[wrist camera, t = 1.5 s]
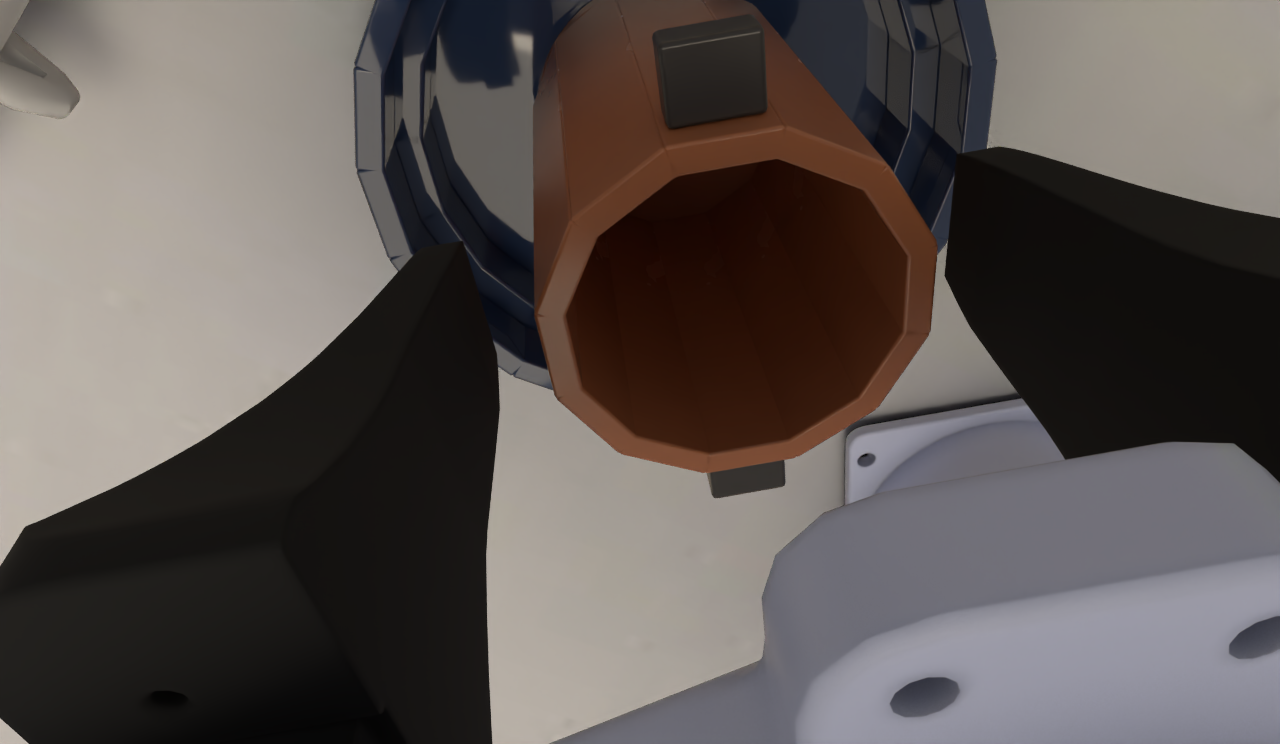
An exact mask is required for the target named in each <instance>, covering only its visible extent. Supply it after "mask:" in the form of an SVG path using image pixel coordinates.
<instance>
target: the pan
mask: <svg viewBox="0 0 1280 744" xmlns="http://www.w3.org/2000/svg"><path fill="white" fill-rule="evenodd" d="M591 1H592V0H375V1H374V4H373V8H372V11H371V14H370V17H369V20H368V23H367V26H366V29H365V32H364V35H363V38H362V41H361V44H360V47H359V50H358V53H357V56H356V59H355V62H354V64H355V67H354V69H353V75H354V121H355V166H356V169H357V175H358V178H359V180H360V183H361V186H362V188H363V191H364V194H365V197H366V199H367V202H368V205H369V207H370V210H371V213H372V216H373V218H374V221H375V224H376V226H377V229H378V232H379V235H380V237H381V240H382V243H383V246H384V248H385V251H386V254H387V256H388V258H390V261H391V263H392V264H393V265H394V267H395V268H396V269H397V270H398V272H399V270H400V269H401V268H402V267H403V266H404V265H405V264H406V263H407V262H408V260H409V259H410V258H411V257H412V256H413V255H414V254H415V253H416V252H417V251H418V250H420V249H421V248H424V247H429V246H435V245H441V244H446V243H452V242H458V241H463V243H464V246H465V249H466V253H467V256H468V259H469V263H470V266H471V269H472V272H473V276H474V279H475V282H476V286H477V289H478V292H479V296H480V299H481V302H482V306H483V309H484V312H485V316H486V319H487V322H488V325H489V329H490V332H491V335H492V339H493V342H494V345H495V349H496V352H497V359H498V367H500V368H501V369H502V370H504V371H505V372H507V373H508V374H510V375H513V376H514V377H516V378H519V379H521V380H524V381H527V382H530V383H533V384H536V385H539V386H542V387H545V388H548V389H551V390H553V387H552V383H551V380H550V376H549V372H548V368H547V364H546V360H545V356H544V353H543V349H542V345H541V341H540V337H539V333H538V329H537V326H536V322H535V318H534V229H533V105H534V102H535V99H536V96H537V93H538V86H539V81H540V77H541V73H542V69H543V66H544V63H545V61H546V59H547V56H548V54H549V51H550V49H551V48H552V46H553V44H554V42H555V40H556V39H557V37H558V35H559V34H560V33H561V31H562V30H563V29H564V27H565V26H566V25H567V23H568V22H569V21H570V20H571V19H572V18H573V17H574V16H575V15H576V14H577V13H578V12H579V11H580V10H581V9H582V8H583V7H584V6H586V5H587V4H588V3H590V2H591ZM745 1H747V2H749V3H752V4H753V5H754V6H756V7H757V8H758V10H759V11H760V12H761V13H762V14H763V16H764V17H765V18H766V19H767V20H768V22H769V23H770V24H771V25H772V26H773V28H774V29H775V30H776V31H777V32H778V33H779V35H780V36H781V37H782V38H783V39H784V41H785V42H786V43H787V44H788V45H789V47H790V48H791V49H792V50H793V51H794V53H795V54H796V55H797V56H798V57H799V59H800V60H801V61H802V62H803V63H804V65H805V66H806V67H807V68H808V69H809V71H810V72H811V73H812V74H813V75H814V76H815V78H816V79H817V80H818V81H819V82H820V84H821V85H822V86H823V87H824V88H825V90H826V91H827V92H828V93H829V94H830V96H831V97H832V98H833V99H834V100H835V102H836V103H837V104H838V105H839V106H840V108H841V109H842V110H843V111H844V112H845V114H846V115H847V116H848V117H849V118H850V119H851V121H852V122H853V123H854V124H855V125H856V127H857V128H858V129H859V130H860V131H861V133H862V134H863V135H864V136H865V137H866V139H867V140H868V141H869V142H870V143H871V145H872V146H873V147H874V148H875V149H876V151H877V152H878V153H879V154H880V155H881V157H882V158H883V159H884V160H885V161H886V162H887V164H888V165H889V166H890V168H891V169H892V171H893V172H894V174H895V176H896V177H897V179H898V180H899V182H900V183H901V185H902V187H903V188H904V190H905V191H906V193H907V194H908V196H909V198H910V199H911V201H912V202H913V204H914V206H915V207H916V209H917V210H918V212H919V213H920V215H921V217H922V218H923V220H924V221H925V223H926V224H927V226H928V228H929V229H930V231H931V232H932V234H933V235H934V237H935V239H936V240H937V245H938V250H937V255H938V253H939V252H940V251H941V250H942V248H943V247H944V246H945V245H946V243H947V239H948V236H949V226H950V215H951V205H952V194H953V184H954V174H955V163H956V154H959V153H965V152H971V151H976V150H982V149H987V142H988V133H989V125H990V116H991V108H992V99H993V91H994V82H995V74H996V65H997V59H996V50H995V45H994V41H993V36H992V31H991V26H990V22H989V17H988V12H987V8H986V3H985V0H745Z"/></svg>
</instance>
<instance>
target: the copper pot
mask: <svg viewBox="0 0 1280 744" xmlns="http://www.w3.org/2000/svg"><path fill="white" fill-rule="evenodd" d="M533 229H534V318H535V322H536V326H537V329H538V333H539V337H540V341H541V345H542V349H543V353H544V356H545V360H546V364H547V368H548V372H549V376H550V380H551V383H552V387H553V391H554V395H555V396H556V398H557V400H558V401H559V402H561V403H562V404H563V405H564V406H565V407H566V408H568V409H569V410H570V411H571V412H572V413H573V414H574V415H576V416H577V417H578V418H579V419H580V420H581V421H583V422H584V423H585V424H586V425H587V426H588V427H589V428H591V429H592V430H593V431H594V432H595V433H596V434H597V435H599V436H600V437H601V438H602V439H603V440H604V441H606V442H607V443H608V444H609V445H610V446H611V447H612V448H614V449H615V450H616V451H617V452H619V453H621V454H623V455H627V456H632V457H636V458H640V459H645V460H649V461H653V462H658V463H662V464H666V465H671V466H675V467H680V468H684V469H688V470H693V471H697V472H701V473H705V472H706V473H707V476H708V480H709V485H710V489H711V493H712V495H713V497H714V498H721V497H727V496H732V495H738V494H744V493H750V492H755V491H761V490H767V489H773V488H778V487H783V486H784V485H785V462H784V460H786V459H792V458H795V457H796V456H797V457H798V456H800V455H802V454H803V453H805V452H807V451H808V450H810V449H812V448H813V447H815V446H817V445H818V444H820V443H822V442H823V441H825V440H827V439H828V438H830V437H832V436H833V435H835V434H836V433H838V432H840V431H841V430H843V429H845V428H846V427H848V426H850V425H851V424H853V423H855V422H856V421H858V420H860V419H861V418H863V417H865V416H866V415H868V414H869V413H871V412H873V411H874V410H875V409H876V408H878V407H879V406H880V404H881V403H882V401H883V400H884V398H885V397H886V396H887V394H888V393H889V391H890V390H891V388H892V387H893V386H894V384H895V383H896V381H897V380H898V378H899V377H900V376H901V374H902V373H903V371H904V370H905V369H906V367H907V366H908V364H909V363H910V361H911V360H912V359H913V357H914V356H915V354H916V353H917V351H918V350H919V349H920V347H921V346H922V344H923V343H924V342H925V340H926V339H927V337H928V336H929V332H930V330H931V319H932V307H933V296H934V284H935V273H936V261H937V250H938V245H937V240H936V239H935V237H934V235H933V234H932V232H931V231H930V229H929V228H928V226H927V224H926V223H925V221H924V220H923V218H922V217H921V215H920V213H919V212H918V210H917V209H916V207H915V206H914V204H913V202H912V201H911V199H910V198H909V196H908V194H907V193H906V191H905V190H904V188H903V187H902V185H901V183H900V182H899V180H898V179H897V177H896V176H895V174H894V172H893V171H892V169H891V168H890V166H889V165H888V164H887V162H886V161H885V160H884V159H883V158H882V157H881V155H880V154H879V153H878V152H877V151H876V149H875V148H874V147H873V146H872V145H871V143H870V142H869V141H868V140H867V139H866V137H865V136H864V135H863V134H862V133H861V131H860V130H859V129H858V128H857V127H856V125H855V124H854V123H853V122H852V121H851V119H850V118H849V117H848V116H847V115H846V114H845V112H844V111H843V110H842V109H841V108H840V106H839V105H838V104H837V103H836V102H835V100H834V99H833V98H832V97H831V96H830V94H829V93H828V92H827V91H826V90H825V88H824V87H823V86H822V85H821V84H820V82H819V81H818V80H817V79H816V78H815V76H814V75H813V74H812V73H811V72H810V71H809V69H808V68H807V67H806V66H805V65H804V63H803V62H802V61H801V60H800V59H799V57H798V56H797V55H796V54H795V53H794V51H793V50H792V49H791V48H790V47H789V45H788V44H787V43H786V42H785V41H784V39H783V38H782V37H781V36H780V35H779V33H778V32H777V31H776V30H775V29H774V28H773V26H772V25H771V24H770V23H769V22H768V20H767V19H766V18H765V17H764V16H763V14H762V13H761V12H760V11H759V10H758V8H757V7H756V6H754V5H753V4H752V3H749V2H747V1H745V0H592V1H591V2H590V3H588V4H587V5H586V6H584V7H583V8H582V9H581V10H580V11H579V12H578V13H577V14H576V15H575V16H574V17H573V18H572V19H571V20H570V21H569V22H568V23H567V25H566V26H565V27H564V29H563V30H562V31H561V33H560V34H559V35H558V37H557V39H556V40H555V42H554V44H553V46H552V48H551V49H550V51H549V54H548V56H547V59H546V61H545V63H544V66H543V69H542V73H541V77H540V81H539V86H538V93H537V96H536V99H535V102H534V105H533Z"/></svg>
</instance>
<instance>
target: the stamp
mask: <svg viewBox="0 0 1280 744" xmlns="http://www.w3.org/2000/svg"><path fill="white" fill-rule="evenodd" d="M29 1H30V0H0V103H1V104H3V105H5V106H7V107H9V108H11V109H13V110H18V111H22V112H27V113H32V114H37V115H42V116H47V117H51V118H56V119H62V118H66V117H67V116H68V115H69V114H70V113H71V111H72V110H73V109H74V107H75V106H76V105H77V104H78V102H79V100H80V95H79V92H78V90H77V89H76V87H75V86H74V85H73V83H72V82H71V81H70V80H69V78H68V77H67V76H66V74H65V73H63V72H62V71H61V70H60V69H59V68H58V67H57V66H55V65H54V64H53V63H52V62H51V61H49V60H48V59H47V58H46V57H44V56H43V55H42V54H41V53H40V52H38V51H37V50H36V49H35V48H33V47H32V46H31V45H30V44H28V43H27V42H26V41H25V40H24V39H22V38H21V37H20V36H19V35H17V34H16V33H15V32H14V31H13V29H14V27H15V26H16V24H17V22H18V20H19V19H20V17H21V15H22V13H23V12H24V10H25V8H26V6H27V5H28V3H29Z"/></svg>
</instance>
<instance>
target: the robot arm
mask: <svg viewBox="0 0 1280 744" xmlns="http://www.w3.org/2000/svg"><path fill="white" fill-rule="evenodd" d="M945 278H946V280H947V282H948V284H949V286H950V288H951V290H952V292H953V294H954V297H955V299H956V301H957V303H958V305H959V307H960V309H961V311H962V312H963V314H964V316H965V318H966V320H967V322H968V324H969V326H970V327H971V329H972V330H973V332H974V333H975V334H976V336H977V337H978V339H979V340H980V342H981V343H982V344H983V346H984V347H985V348H986V350H987V351H988V353H989V354H990V355H991V357H992V358H993V360H994V361H995V362H996V364H997V365H998V366H999V368H1000V369H1001V370H1002V372H1003V373H1004V375H1005V376H1006V377H1007V379H1008V380H1009V381H1010V383H1011V384H1012V385H1013V387H1014V388H1015V389H1016V391H1017V392H1018V393H1019V395H1020V396H1021V397H1022V398H1021V399H1015V400H1009V401H1004V402H998V403H992V404H986V405H981V406H975V407H969V408H964V409H958V410H952V411H946V412H941V413H935V414H929V415H923V416H918V417H912V418H906V419H900V420H895V421H889V422H883V423H878V424H872V425H866V426H862V427H859V428H856V429H855V430H853V431H852V432H851V433H850V434H849V435H848V436H847V439H846V455H845V505H844V506H841V507H839V508H836V509H833V510H830V511H827V512H825V513H823V514H822V515H821V516H820V517H818V518H817V519H816V520H815V521H814V522H813V523H812V524H810V525H809V526H808V527H807V528H806V529H805V530H804V531H802V532H801V533H800V534H799V535H798V536H797V537H795V538H794V539H793V540H792V541H791V542H790V543H789V544H787V545H786V546H785V547H784V548H783V549H782V550H781V551H780V552H779V553H778V554H776V555H775V558H774V561H773V565H772V568H771V571H770V574H769V577H768V580H767V583H766V586H765V589H764V592H763V596H762V606H763V619H764V631H765V643H764V650H763V657H762V659H761V660H759V661H757V662H754V663H752V664H749V665H747V666H744V667H742V668H739V669H737V670H734V671H732V672H729V673H727V674H724V675H722V676H719V677H717V678H714V679H712V680H709V681H706V682H704V683H701V684H699V685H696V686H694V687H691V688H689V689H686V690H684V691H681V692H679V693H676V694H674V695H671V696H669V697H666V698H663V699H661V700H658V701H656V702H653V703H651V704H648V705H646V706H643V707H641V708H638V709H636V710H633V711H631V712H628V713H626V714H623V715H620V716H618V717H615V718H613V719H610V720H608V721H605V722H603V723H600V724H598V725H595V726H593V727H590V728H588V729H585V730H583V731H580V732H577V733H575V734H572V735H570V736H567V737H565V738H562V739H560V740H557V741H555V742H552V743H550V744H1280V218H1276V217H1271V216H1265V215H1260V214H1254V213H1249V212H1244V211H1238V210H1233V209H1228V208H1224V207H1219V206H1215V205H1210V204H1206V203H1202V202H1198V201H1194V200H1190V199H1186V198H1182V197H1179V196H1175V195H1171V194H1167V193H1163V192H1159V191H1156V190H1152V189H1149V188H1145V187H1142V186H1138V185H1135V184H1131V183H1128V182H1125V181H1121V180H1118V179H1115V178H1111V177H1108V176H1105V175H1102V174H1098V173H1095V172H1092V171H1089V170H1085V169H1082V168H1079V167H1076V166H1073V165H1069V164H1066V163H1063V162H1060V161H1056V160H1053V159H1050V158H1046V157H1043V156H1039V155H1036V154H1032V153H1028V152H1024V151H1020V150H1016V149H1011V148H1005V147H994V148H988V149H982V150H976V151H971V152H965V153H959V154H956V163H955V174H954V184H953V194H952V205H951V215H950V226H949V236H948V246H947V257H946V267H945ZM499 411H500V403H499V378H498V359H497V352H496V349H495V345H494V342H493V339H492V335H491V332H490V329H489V325H488V322H487V319H486V316H485V312H484V309H483V306H482V302H481V299H480V296H479V292H478V289H477V286H476V282H475V279H474V276H473V272H472V269H471V266H470V263H469V259H468V256H467V253H466V249H465V246H464V243H463V241H458V242H452V243H446V244H441V245H435V246H429V247H424V248H421V249H420V250H418V251H417V252H416V253H415V254H414V255H413V256H412V257H411V258H410V259H409V260H408V262H407V263H406V264H405V265H404V266H403V267H402V268H401V269H400V270H399V272H398V273H397V274H396V275H395V276H394V277H393V278H392V280H391V281H390V282H389V283H388V284H387V285H386V286H385V287H384V289H383V290H382V291H381V292H380V293H379V294H378V295H377V296H376V297H375V298H374V300H373V301H372V302H371V303H370V304H369V305H368V306H367V307H366V308H365V309H364V311H363V312H362V313H361V314H360V315H359V316H358V317H357V318H356V319H355V320H354V321H353V322H352V323H351V324H350V325H349V326H348V327H347V328H346V329H345V330H344V331H343V332H342V333H341V334H340V335H339V336H338V337H337V338H336V339H335V340H334V341H332V342H331V343H330V344H329V345H328V346H327V347H326V348H325V349H324V350H323V351H322V352H321V353H320V354H319V355H318V356H317V357H316V358H315V359H314V360H312V361H311V362H310V363H309V364H308V365H307V366H306V367H304V368H303V369H302V370H301V371H300V372H298V373H297V374H296V375H295V376H294V377H292V378H291V379H290V380H288V381H287V382H286V383H285V384H283V385H282V386H281V387H280V388H278V389H277V390H276V391H274V392H273V393H272V394H271V395H269V396H268V397H267V398H265V399H264V400H262V401H261V402H260V403H258V404H257V405H255V406H254V407H252V408H251V409H249V410H248V411H246V412H245V413H243V414H242V415H240V416H239V417H237V418H236V419H234V420H233V421H231V422H230V423H228V424H227V425H225V426H223V427H222V428H220V429H219V430H217V431H216V432H214V433H213V434H211V435H210V436H208V437H207V438H205V439H203V440H202V441H200V442H198V443H197V444H195V445H193V446H192V447H190V448H188V449H186V450H185V451H183V452H181V453H179V454H178V455H176V456H174V457H172V458H171V459H169V460H167V461H165V462H163V463H161V464H159V465H157V466H155V467H154V468H152V469H150V470H148V471H146V472H144V473H142V474H140V475H138V476H137V477H135V478H133V479H131V480H129V481H126V482H124V483H122V484H120V485H118V486H116V487H114V488H112V489H110V490H108V491H106V492H103V493H101V494H99V495H97V496H94V497H92V498H90V499H88V500H85V501H83V502H81V503H79V504H77V505H74V506H72V507H70V508H68V509H65V510H63V511H61V512H59V513H56V514H54V515H52V516H50V517H48V518H45V519H43V520H40V521H38V522H36V523H33V524H31V525H28V526H26V527H25V528H24V529H23V531H22V532H21V534H20V536H19V537H18V539H17V541H16V542H15V544H14V545H13V547H12V549H11V550H10V552H9V553H8V555H7V556H6V558H5V560H4V561H3V563H2V564H1V566H0V718H1V719H2V720H3V721H4V722H5V723H6V724H8V725H9V726H10V727H11V728H12V729H13V730H14V731H15V732H17V733H18V734H19V735H20V736H21V737H22V738H23V739H24V740H25V741H27V742H28V743H29V744H492V729H491V709H490V689H489V664H488V632H487V585H486V548H487V529H488V519H489V510H490V500H491V491H492V481H493V472H494V462H495V453H496V443H497V433H498V422H499ZM866 453H869V454H868V455H867V456H864V457H860V456H861V455H863V454H866Z"/></svg>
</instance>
